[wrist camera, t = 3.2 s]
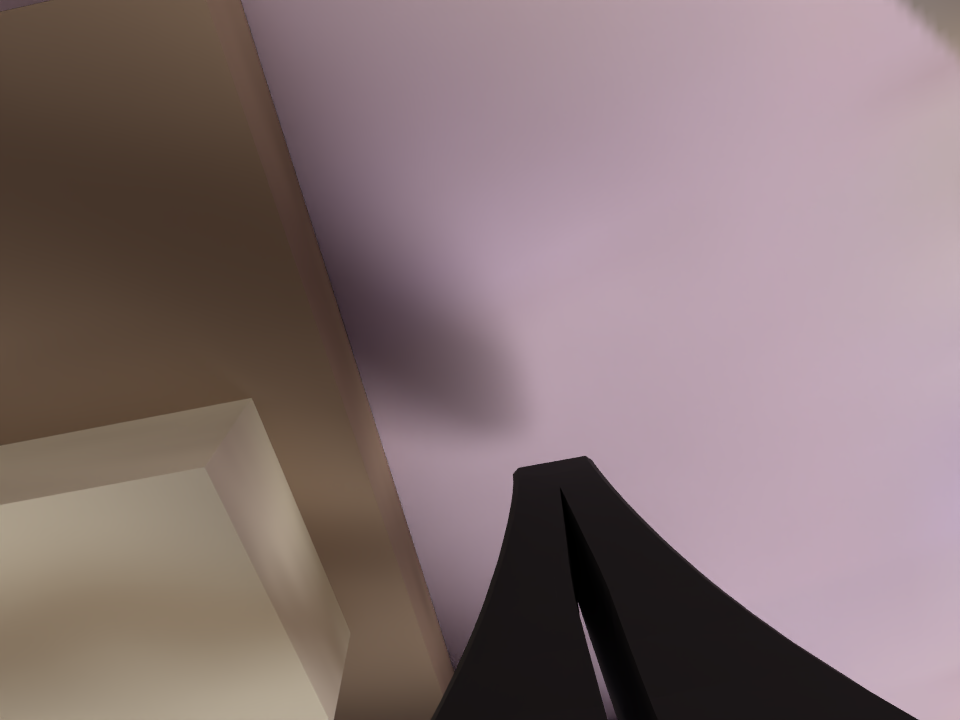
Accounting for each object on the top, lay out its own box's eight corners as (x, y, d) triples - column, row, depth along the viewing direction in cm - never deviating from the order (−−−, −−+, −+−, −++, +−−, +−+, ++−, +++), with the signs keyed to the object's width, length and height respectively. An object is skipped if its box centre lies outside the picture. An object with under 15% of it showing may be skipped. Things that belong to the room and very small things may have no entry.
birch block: (350, 633, 12) (332, 726, 10) (-80, 706, 13) (-169, 808, 11) (251, 398, 10) (205, 467, 8) (-283, 499, 10) (-446, 587, 8)
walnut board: (469, 719, 16) (470, 777, 15) (41, 789, 17) (4, 851, 15) (237, -11, 8) (194, -33, 7) (-544, 163, 9) (-723, 174, 8)
